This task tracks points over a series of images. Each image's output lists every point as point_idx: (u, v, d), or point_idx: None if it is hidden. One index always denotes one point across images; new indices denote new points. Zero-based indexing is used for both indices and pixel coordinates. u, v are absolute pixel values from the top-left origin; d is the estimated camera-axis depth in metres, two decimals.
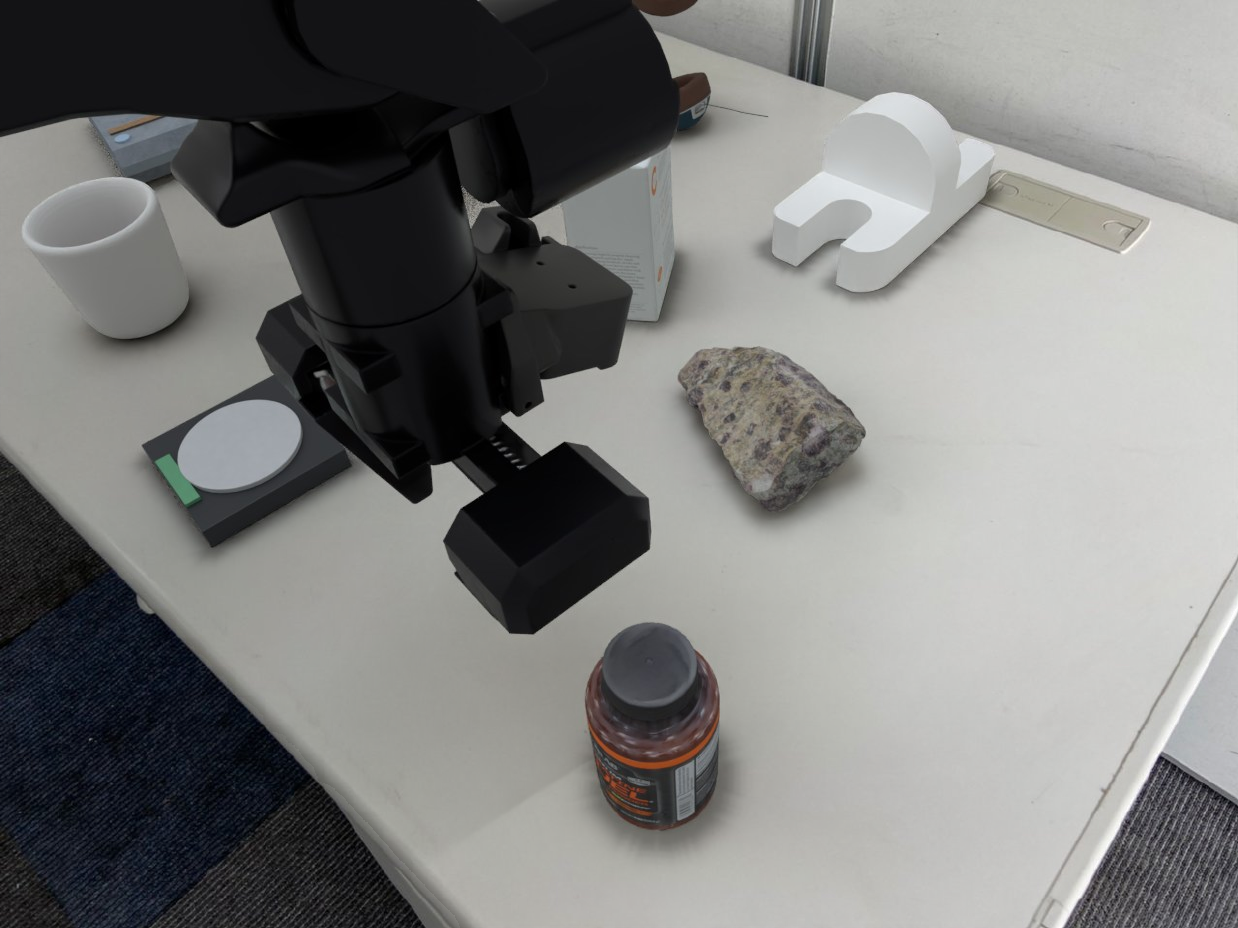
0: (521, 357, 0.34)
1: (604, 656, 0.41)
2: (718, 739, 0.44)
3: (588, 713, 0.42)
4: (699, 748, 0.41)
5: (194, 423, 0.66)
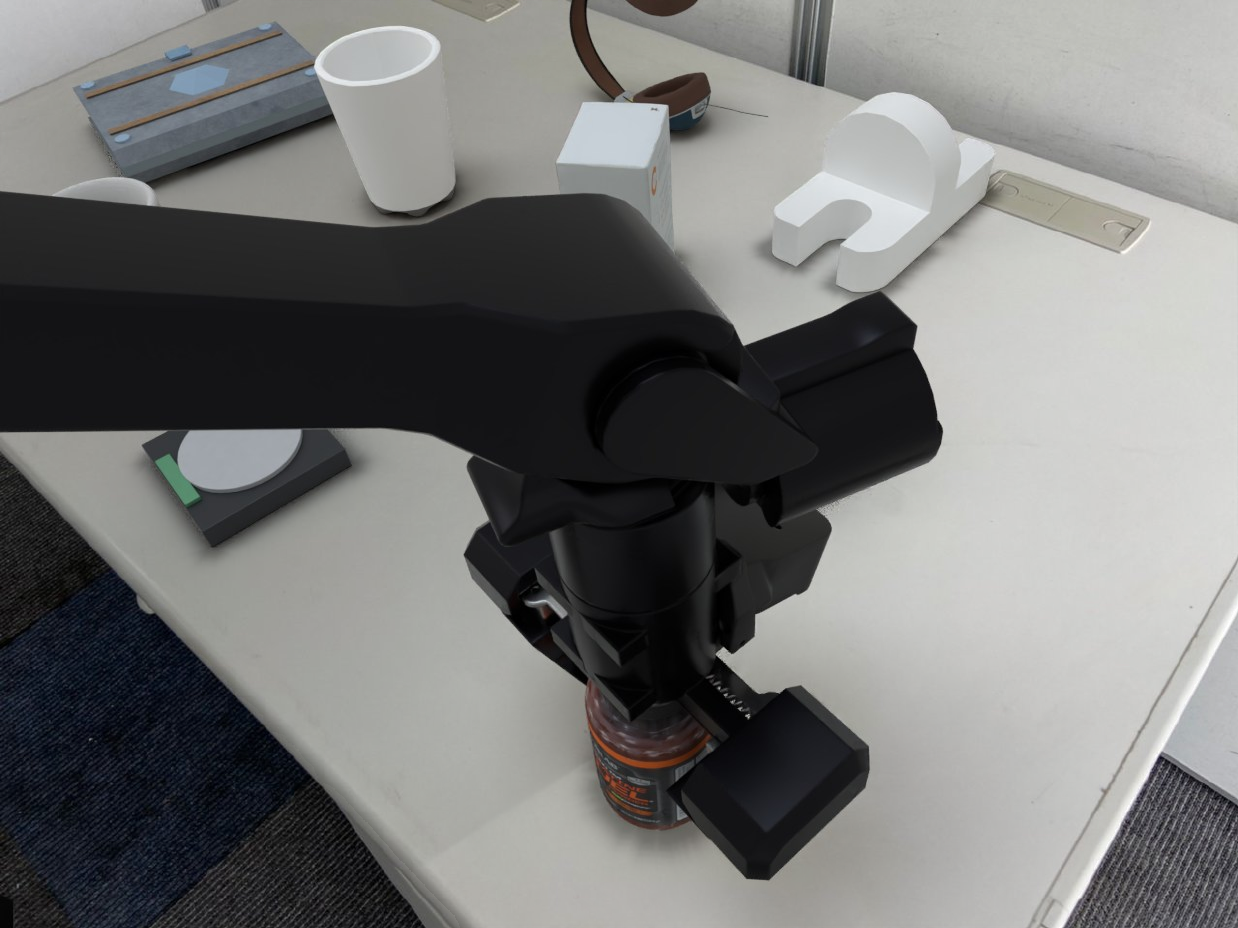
0: (744, 608, 0.36)
1: None
2: None
3: (588, 713, 0.42)
4: (699, 748, 0.41)
5: None
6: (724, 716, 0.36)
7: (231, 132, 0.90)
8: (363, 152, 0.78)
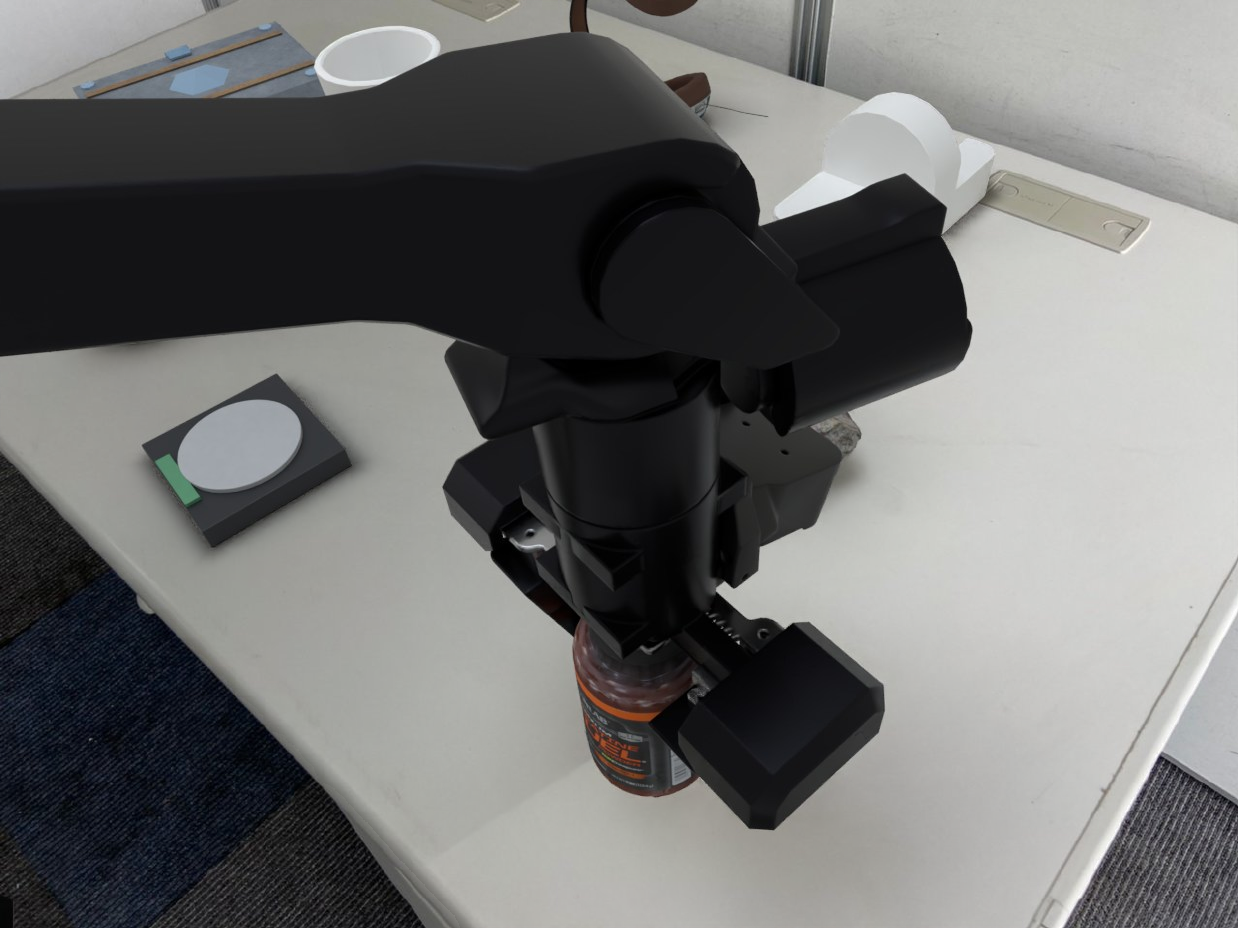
0: (748, 536, 0.33)
1: None
2: None
3: (576, 662, 0.39)
4: None
5: (194, 423, 0.66)
6: (725, 653, 0.33)
7: None
8: None
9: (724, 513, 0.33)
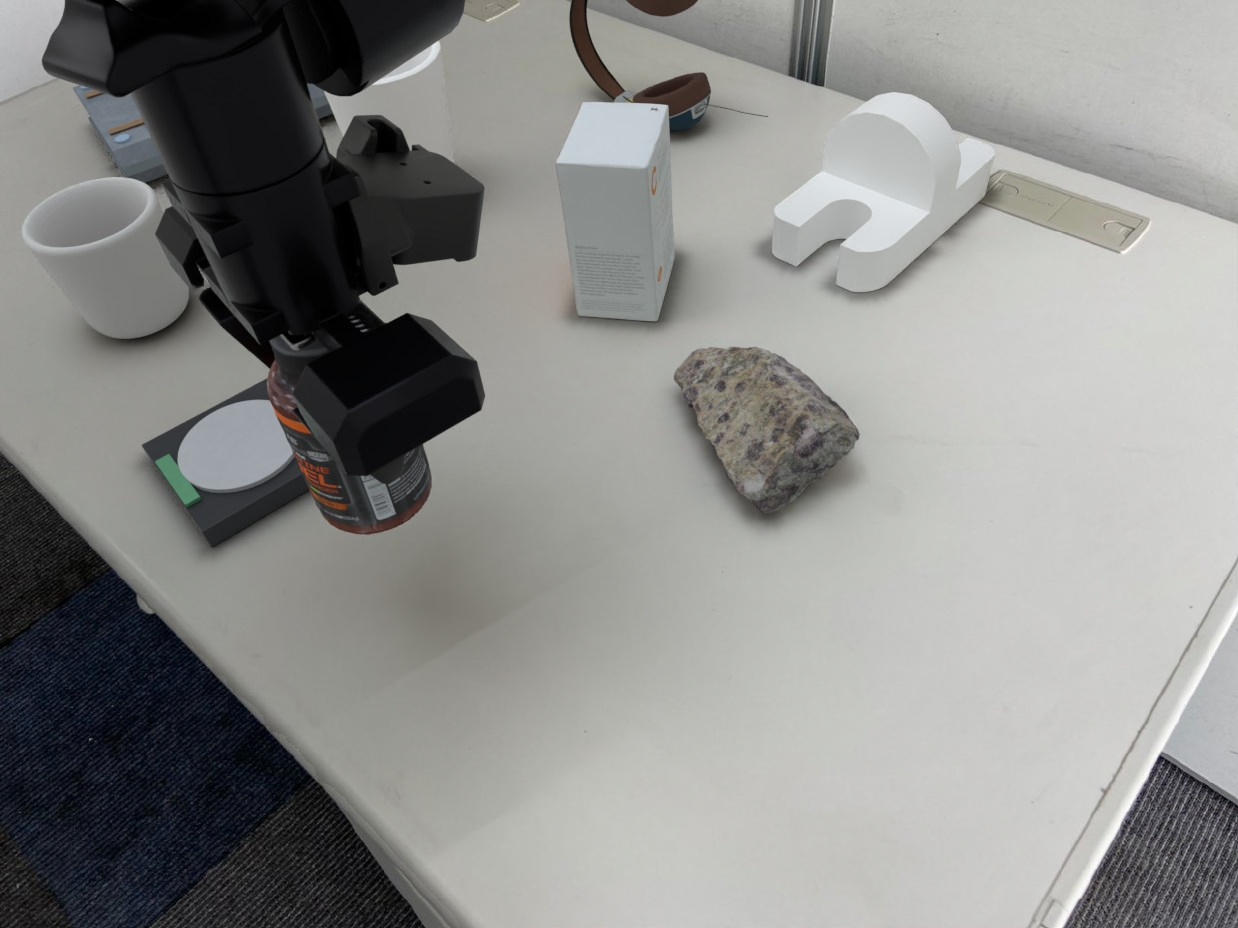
0: (370, 238, 0.38)
1: None
2: None
3: (267, 386, 0.44)
4: None
5: (194, 423, 0.66)
6: (348, 339, 0.38)
7: None
8: None
9: (348, 216, 0.38)
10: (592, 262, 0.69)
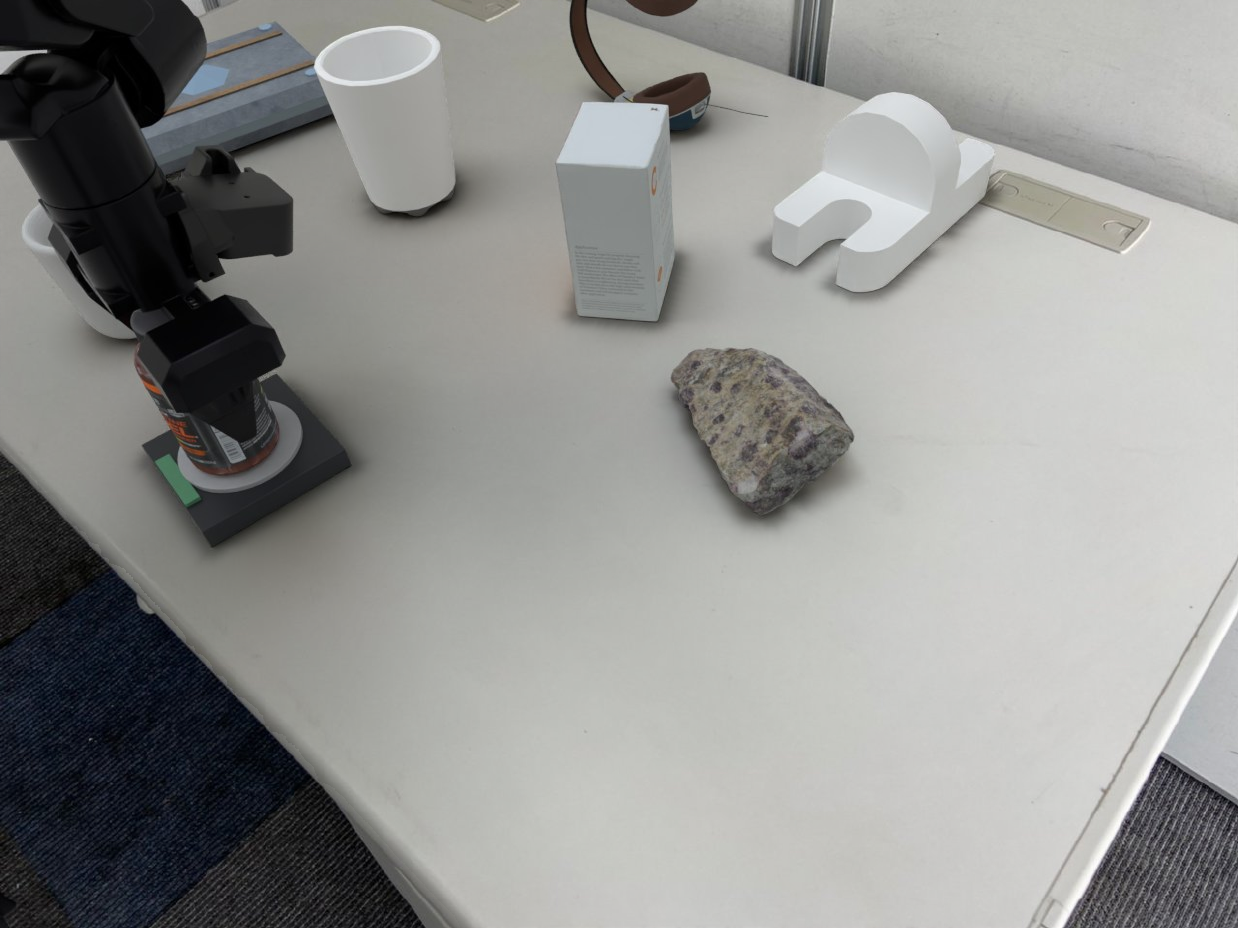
0: (197, 239, 0.51)
1: None
2: None
3: None
4: None
5: None
6: (182, 314, 0.51)
7: (231, 132, 0.90)
8: (363, 152, 0.78)
9: (180, 223, 0.51)
10: (592, 262, 0.69)
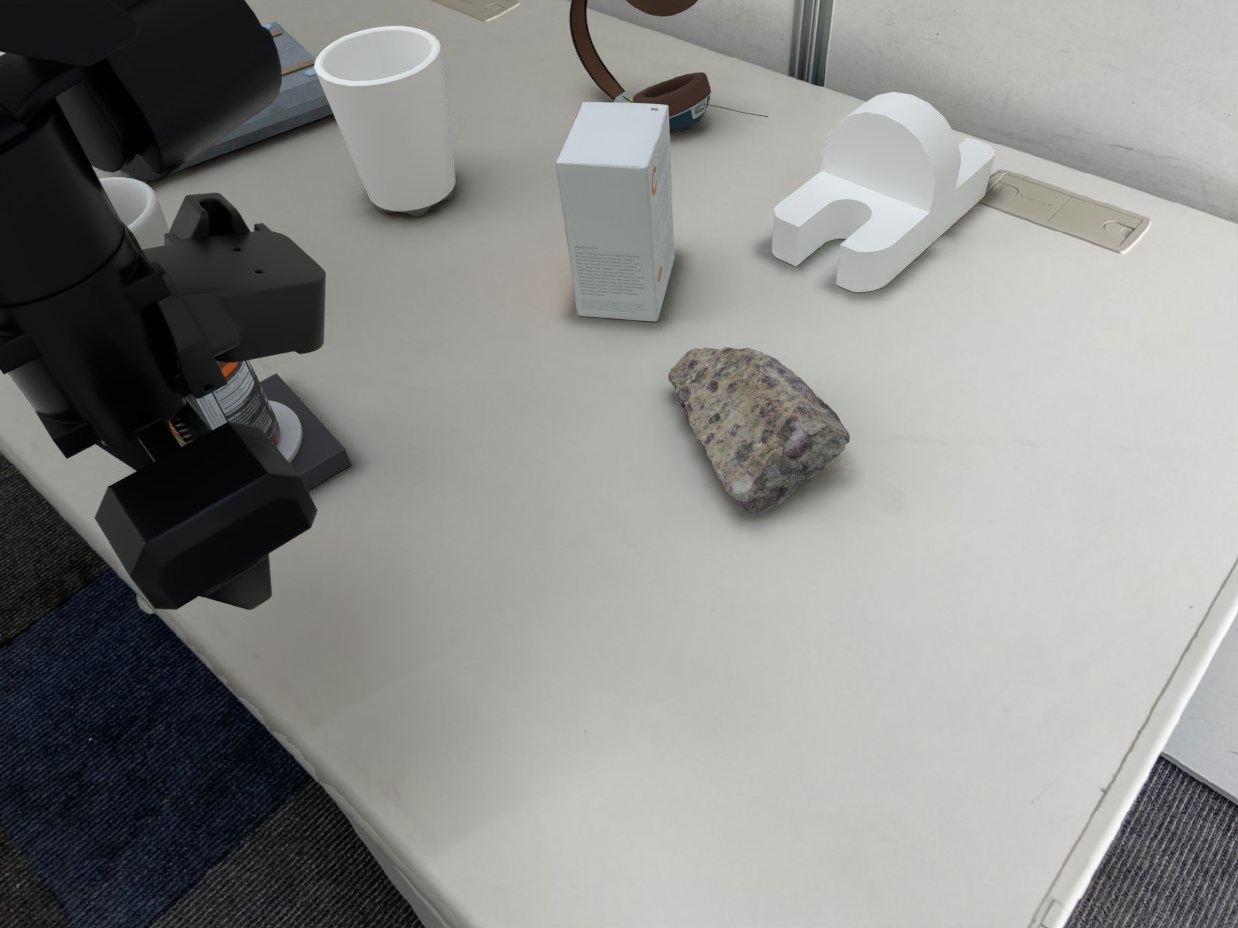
0: (187, 339, 0.35)
1: None
2: (251, 394, 0.59)
3: None
4: None
5: None
6: (163, 452, 0.34)
7: (231, 132, 0.90)
8: (363, 152, 0.78)
9: (161, 317, 0.34)
10: (592, 262, 0.69)
